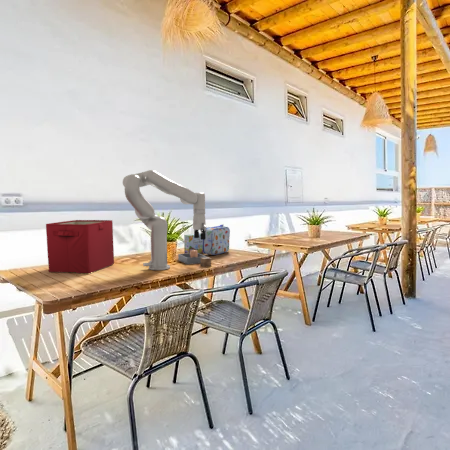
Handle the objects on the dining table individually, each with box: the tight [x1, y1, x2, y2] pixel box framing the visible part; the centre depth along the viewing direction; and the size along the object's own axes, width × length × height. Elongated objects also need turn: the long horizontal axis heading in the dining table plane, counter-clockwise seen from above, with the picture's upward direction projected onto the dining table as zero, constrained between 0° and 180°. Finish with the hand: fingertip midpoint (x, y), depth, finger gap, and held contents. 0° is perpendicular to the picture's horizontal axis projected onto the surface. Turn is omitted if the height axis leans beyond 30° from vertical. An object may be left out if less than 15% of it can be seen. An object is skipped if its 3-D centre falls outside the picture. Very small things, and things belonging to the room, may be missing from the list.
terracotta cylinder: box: [190, 250, 198, 258], centre depth 221 cm, size 5×5×7 cm
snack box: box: [183, 232, 204, 254], centre depth 257 cm, size 21×6×15 cm, turn 143°
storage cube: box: [45, 219, 115, 274], centre depth 203 cm, size 32×28×29 cm
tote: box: [177, 253, 207, 265], centre depth 224 cm, size 14×18×4 cm
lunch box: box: [203, 224, 231, 256], centre depth 253 cm, size 28×10×22 cm, turn 149°
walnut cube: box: [200, 256, 212, 268], centre depth 209 cm, size 5×5×5 cm
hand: (199, 238), depth 214 cm, fingers open, 9 cm apart
